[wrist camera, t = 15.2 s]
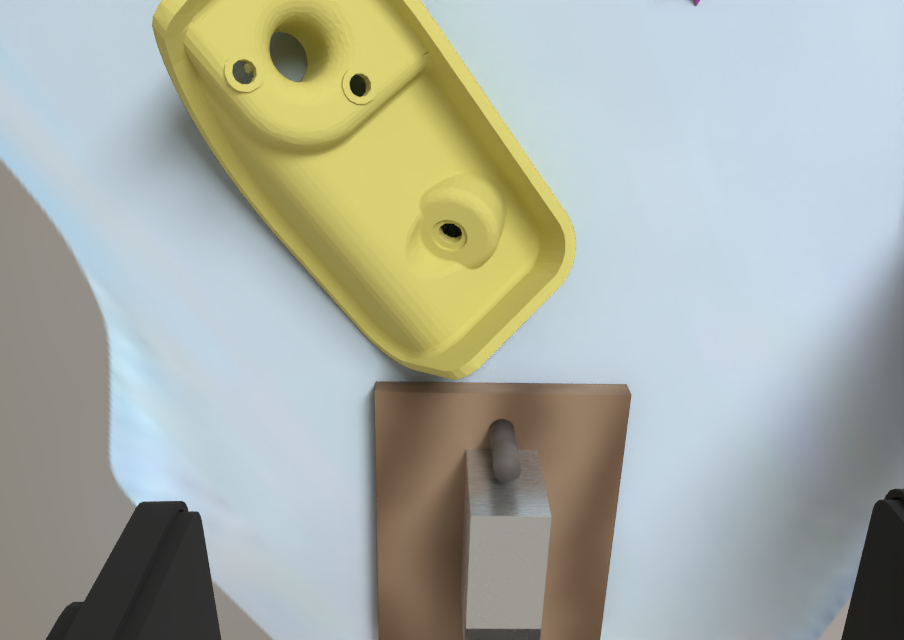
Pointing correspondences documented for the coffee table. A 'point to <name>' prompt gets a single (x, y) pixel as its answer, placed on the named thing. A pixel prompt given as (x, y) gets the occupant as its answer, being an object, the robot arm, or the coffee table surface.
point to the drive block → (504, 549)
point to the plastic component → (376, 169)
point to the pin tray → (504, 432)
